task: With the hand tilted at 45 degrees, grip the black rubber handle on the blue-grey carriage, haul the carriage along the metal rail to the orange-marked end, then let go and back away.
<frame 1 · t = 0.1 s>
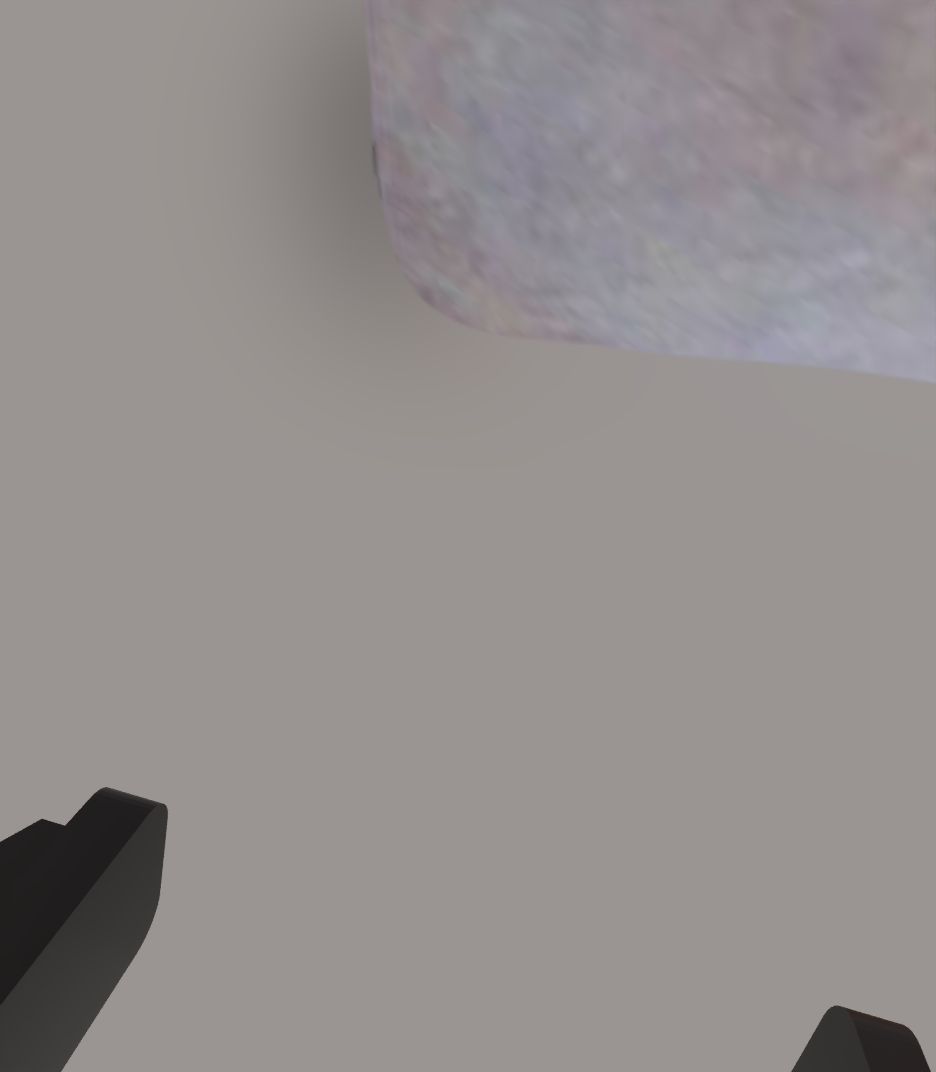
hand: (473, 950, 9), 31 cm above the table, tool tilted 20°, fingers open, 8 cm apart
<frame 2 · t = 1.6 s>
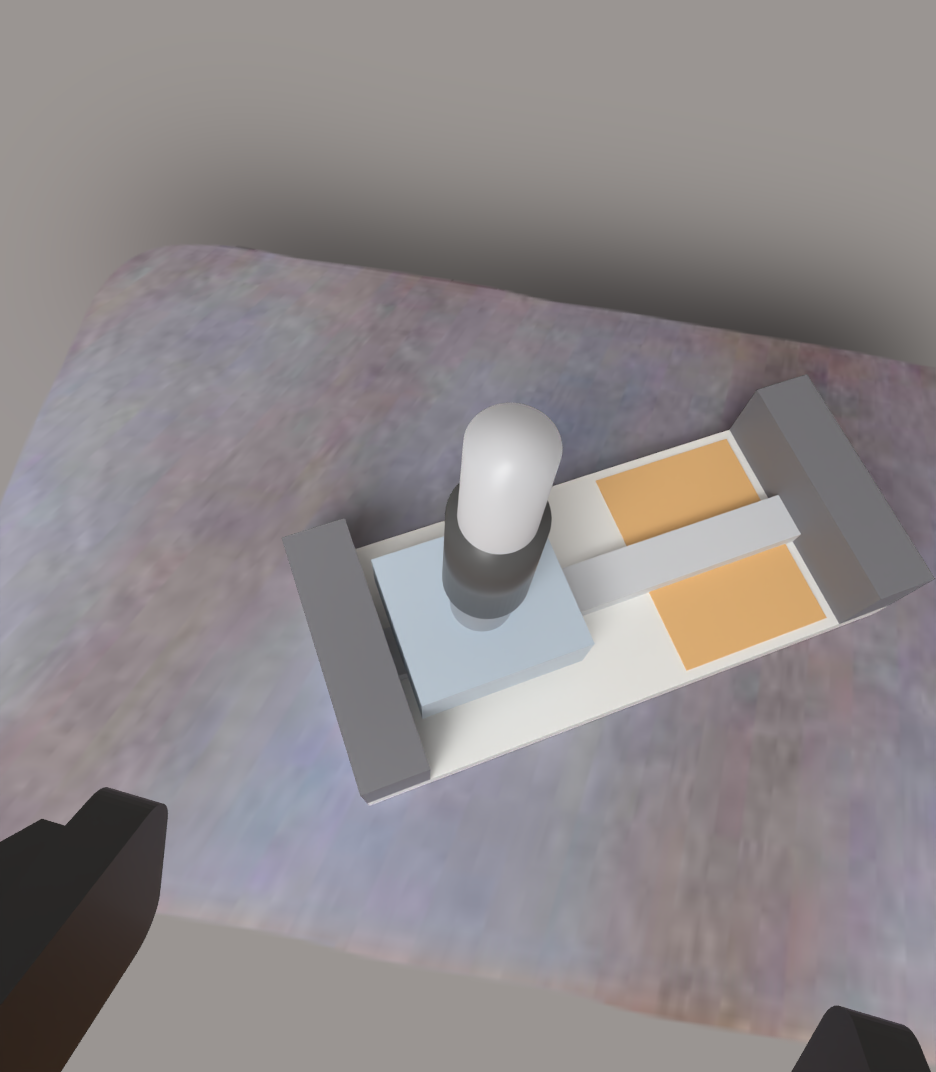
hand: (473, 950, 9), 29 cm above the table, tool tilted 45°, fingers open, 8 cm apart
carriage: (490, 555, 30), point 11 cm above the table, slide at 0.0 cm
rail base: (589, 596, 41), on the table
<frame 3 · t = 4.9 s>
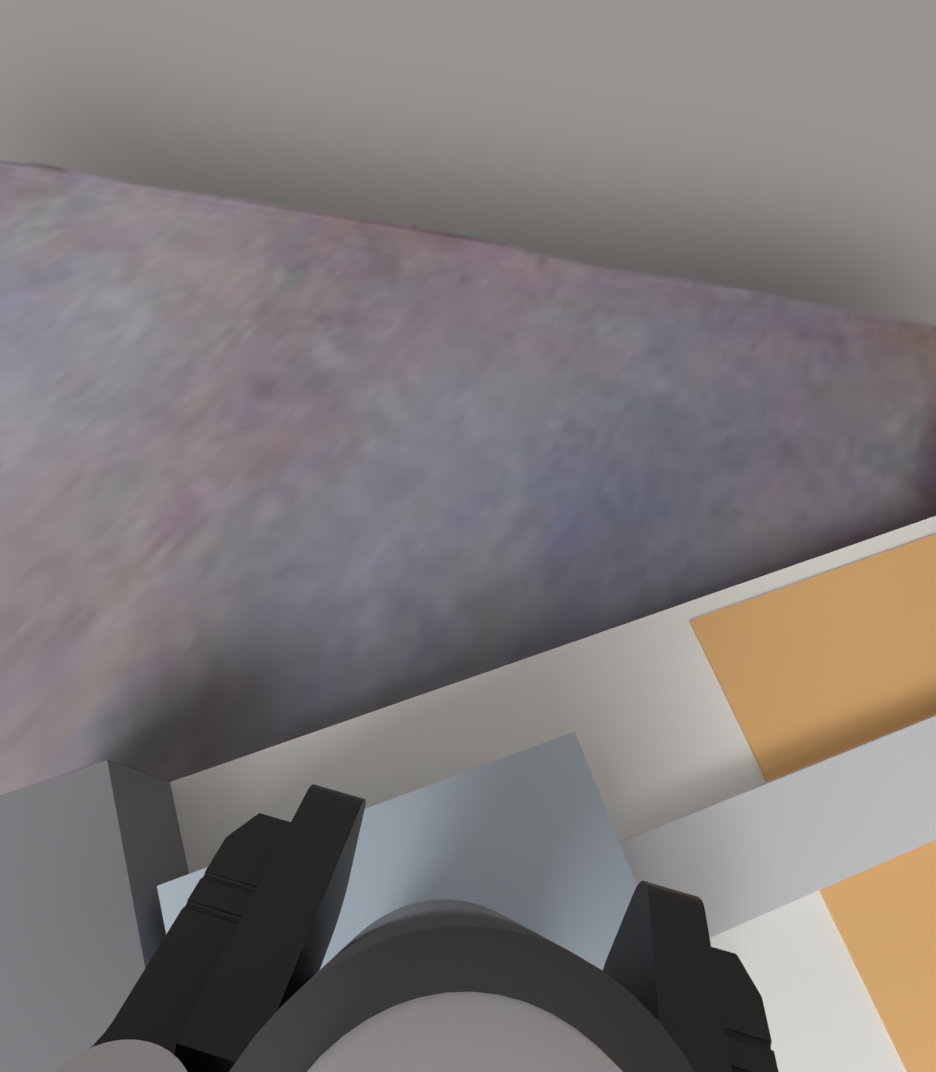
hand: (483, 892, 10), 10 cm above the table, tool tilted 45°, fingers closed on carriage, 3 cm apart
rail base: (678, 869, 20), on the table
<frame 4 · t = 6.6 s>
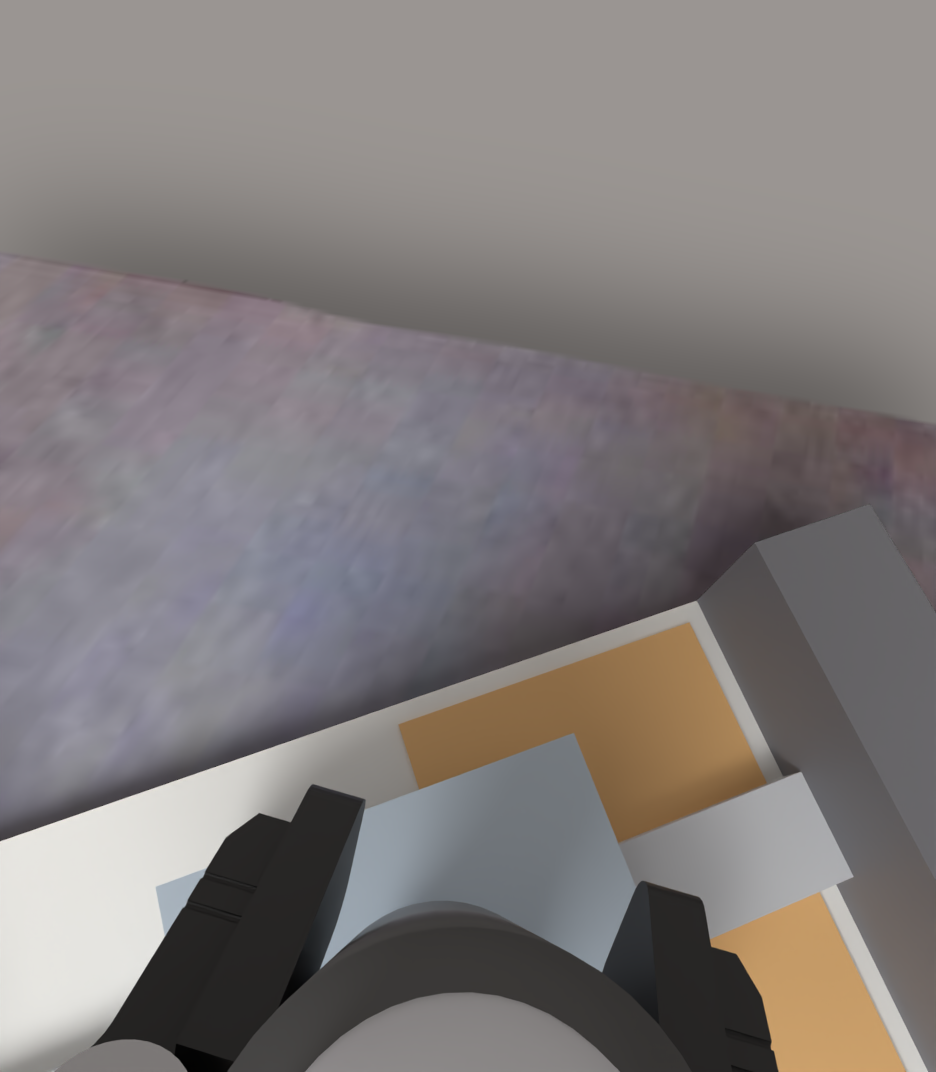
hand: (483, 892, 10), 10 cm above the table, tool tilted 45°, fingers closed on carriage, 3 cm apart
rail base: (370, 998, 18), on the table
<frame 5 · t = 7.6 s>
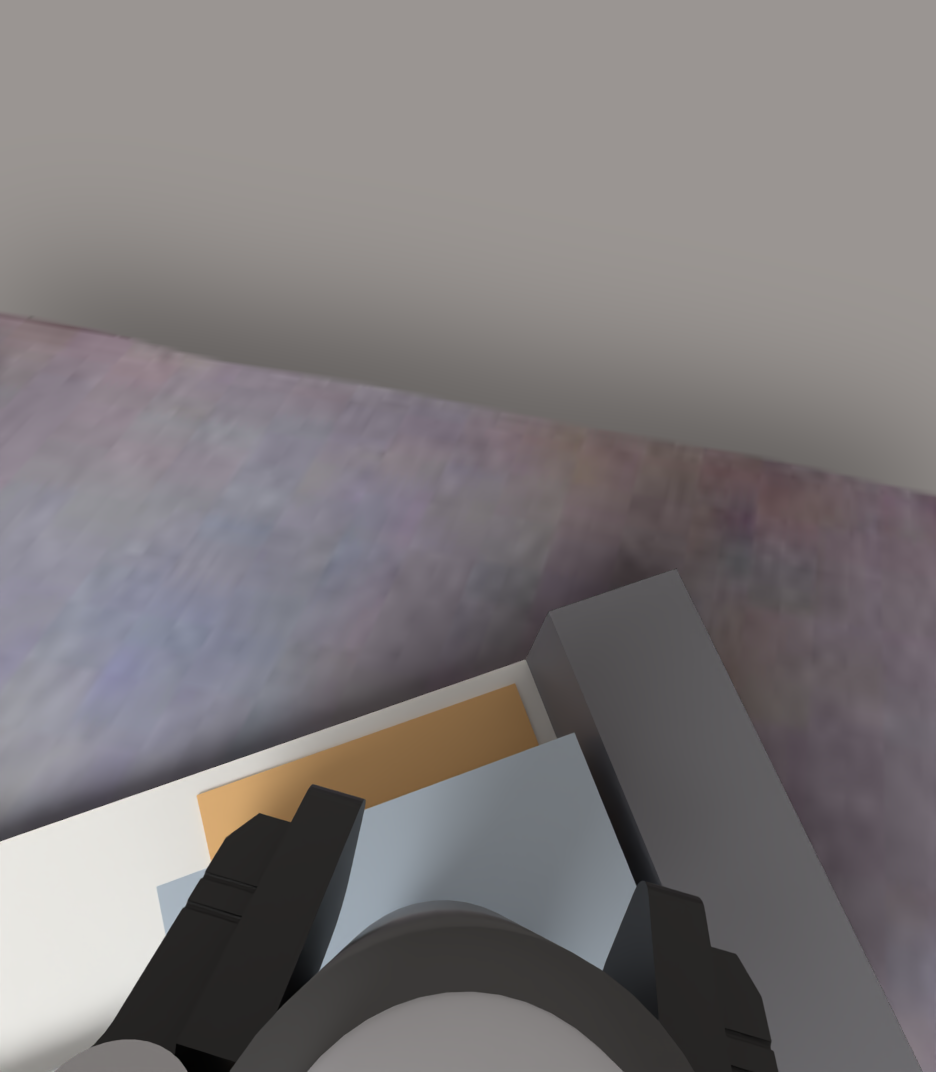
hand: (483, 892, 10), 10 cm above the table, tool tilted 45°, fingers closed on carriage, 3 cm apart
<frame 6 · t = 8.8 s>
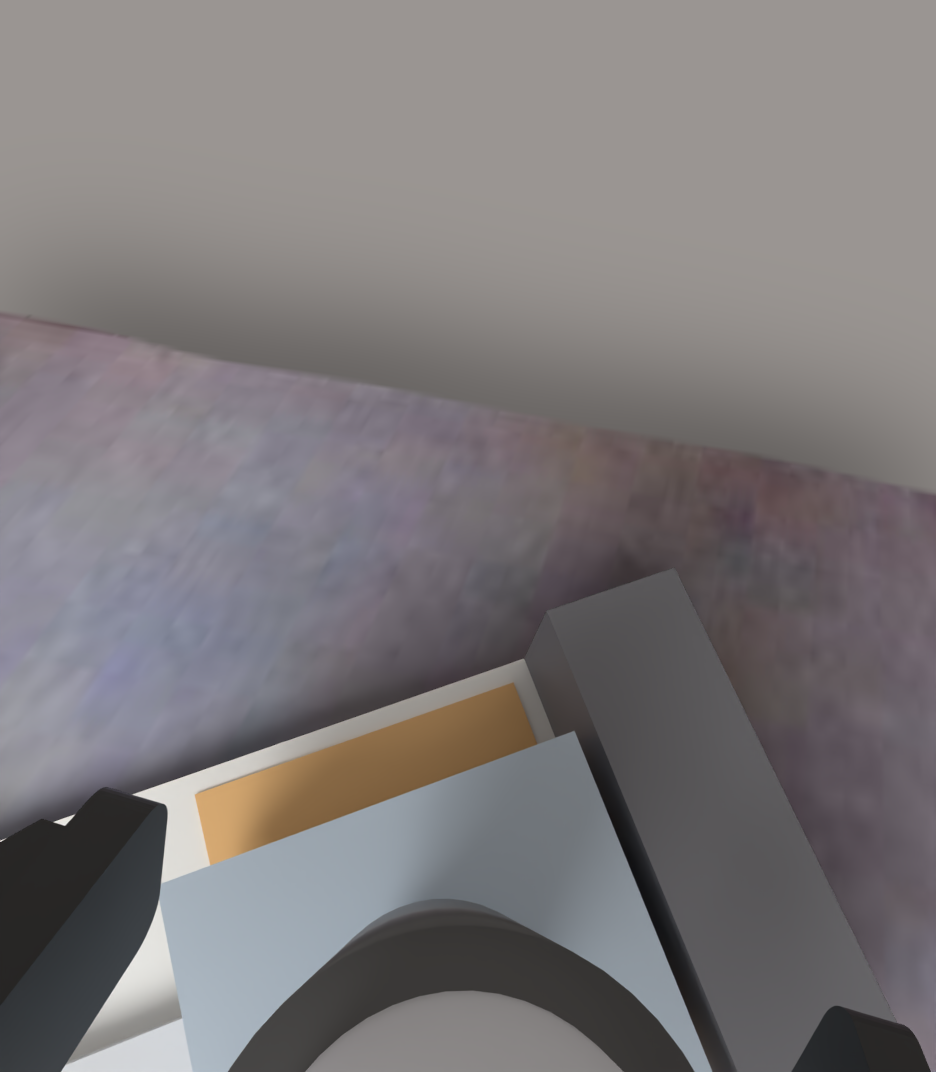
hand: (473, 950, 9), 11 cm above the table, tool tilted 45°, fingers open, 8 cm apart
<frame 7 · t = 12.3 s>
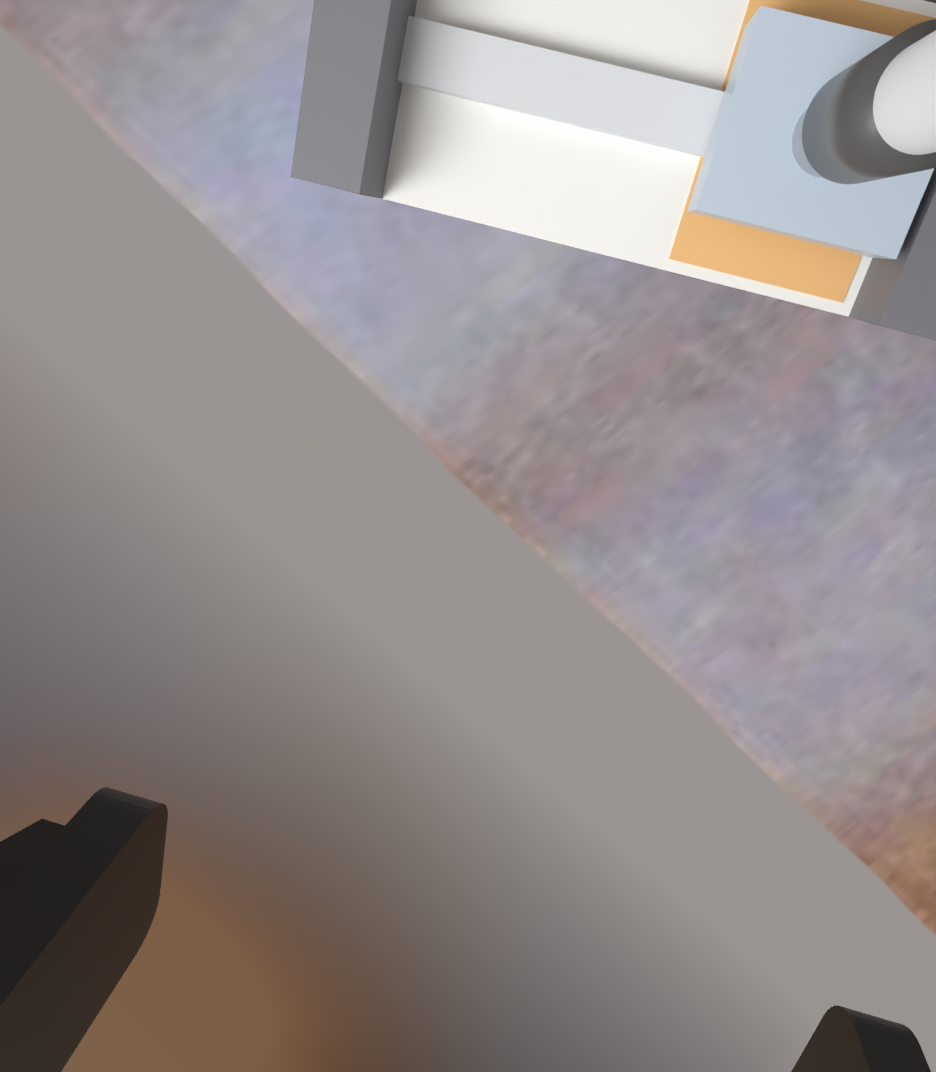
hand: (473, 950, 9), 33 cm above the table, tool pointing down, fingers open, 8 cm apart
carriage: (881, 116, 24), point 11 cm above the table, slide at 13.0 cm
rail base: (650, 117, 35), on the table
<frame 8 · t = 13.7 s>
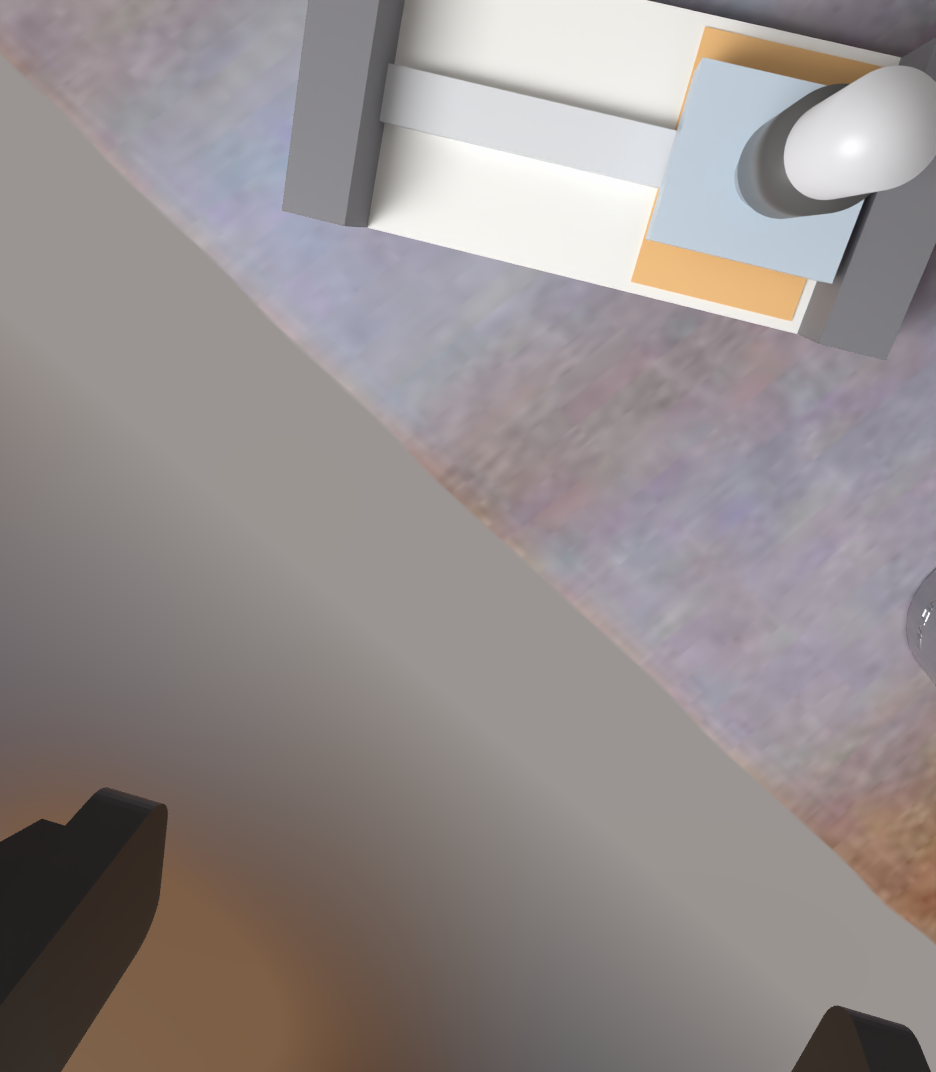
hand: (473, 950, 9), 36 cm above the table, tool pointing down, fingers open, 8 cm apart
carriage: (802, 161, 28), point 11 cm above the table, slide at 13.0 cm
rail base: (612, 152, 38), on the table
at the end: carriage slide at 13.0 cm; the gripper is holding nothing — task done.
